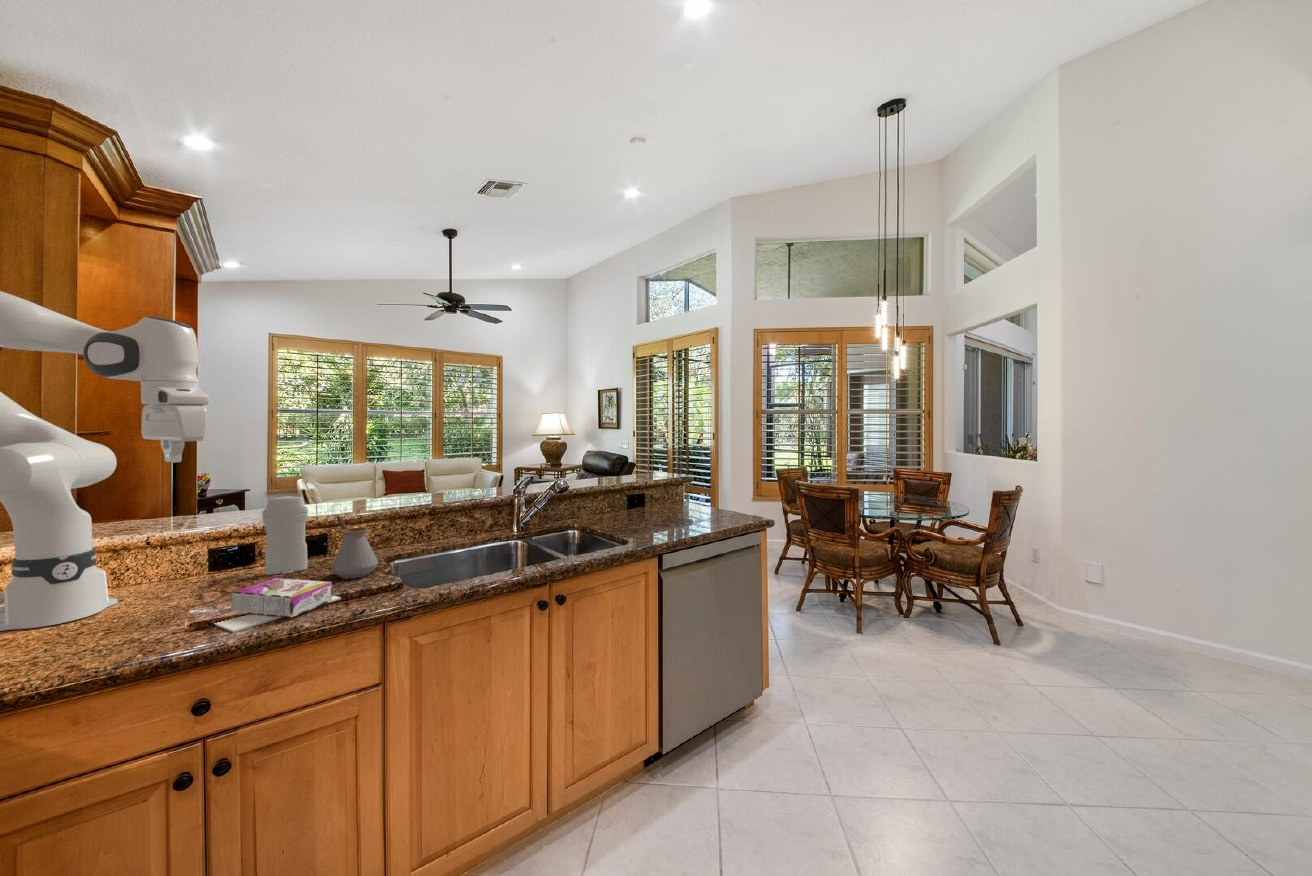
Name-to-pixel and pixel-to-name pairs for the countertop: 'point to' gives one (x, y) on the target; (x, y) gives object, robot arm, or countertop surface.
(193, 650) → the countertop surface
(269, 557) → the gray flat bottle
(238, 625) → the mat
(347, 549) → the coffee pot
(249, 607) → the candy bar box
